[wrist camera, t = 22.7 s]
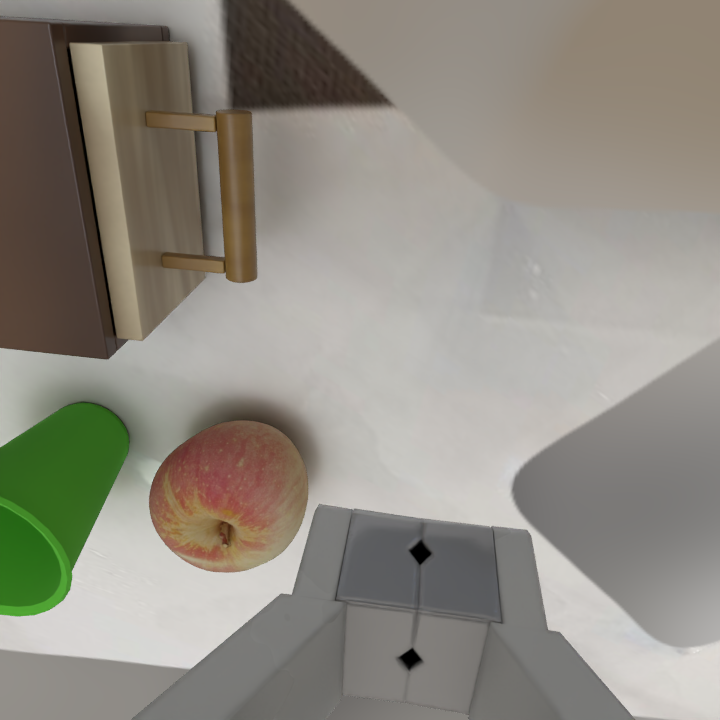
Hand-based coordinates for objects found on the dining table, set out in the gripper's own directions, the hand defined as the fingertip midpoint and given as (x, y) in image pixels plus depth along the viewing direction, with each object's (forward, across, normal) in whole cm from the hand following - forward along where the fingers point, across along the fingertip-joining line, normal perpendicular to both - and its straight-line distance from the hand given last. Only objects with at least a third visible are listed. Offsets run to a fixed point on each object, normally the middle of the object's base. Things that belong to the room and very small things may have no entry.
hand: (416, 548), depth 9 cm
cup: (+24, +21, +18) cm, 37 cm away
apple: (+24, +10, +18) cm, 32 cm away
